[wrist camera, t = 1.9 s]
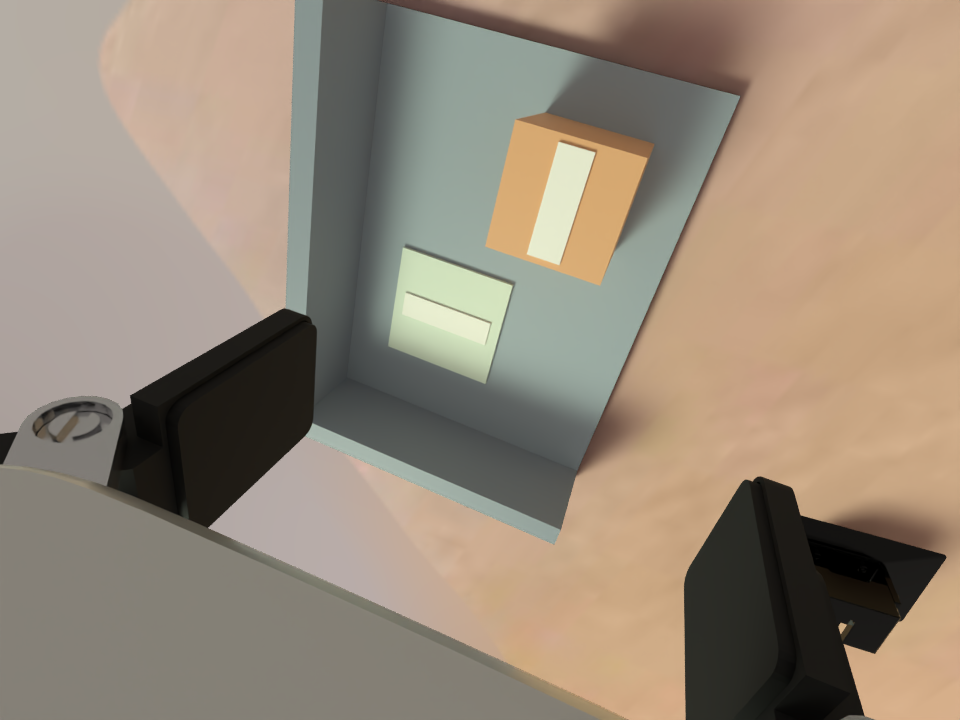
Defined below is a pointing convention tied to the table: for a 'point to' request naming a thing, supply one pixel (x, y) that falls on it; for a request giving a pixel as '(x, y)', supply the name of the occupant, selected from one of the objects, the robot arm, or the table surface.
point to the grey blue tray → (467, 249)
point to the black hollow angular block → (868, 579)
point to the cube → (566, 194)
